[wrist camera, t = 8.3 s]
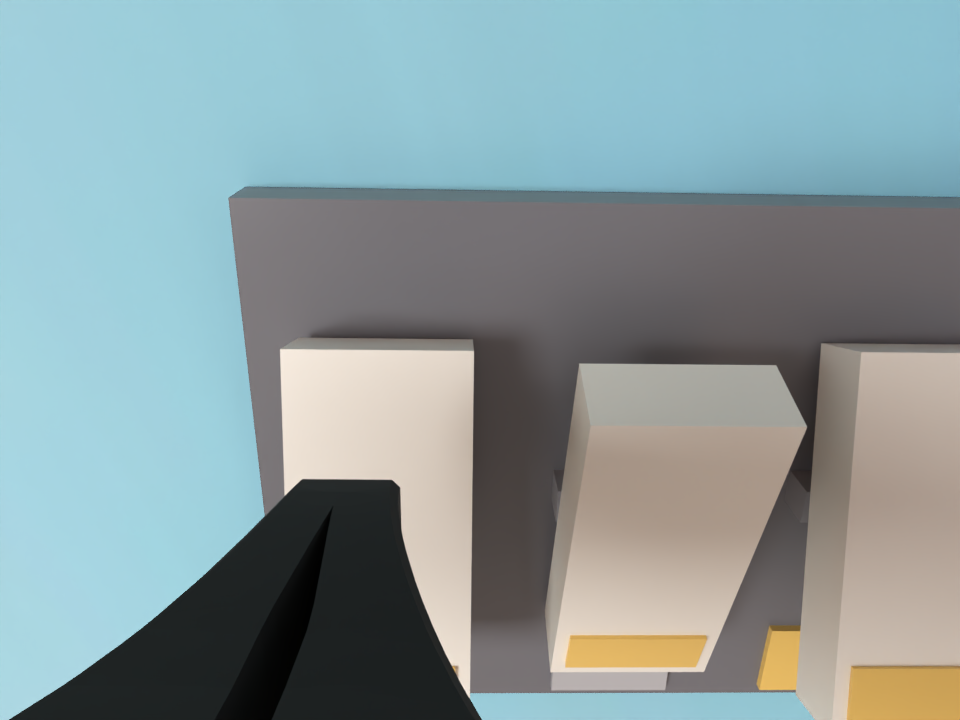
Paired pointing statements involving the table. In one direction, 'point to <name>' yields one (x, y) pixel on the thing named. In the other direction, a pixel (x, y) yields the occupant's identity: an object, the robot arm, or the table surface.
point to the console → (593, 354)
